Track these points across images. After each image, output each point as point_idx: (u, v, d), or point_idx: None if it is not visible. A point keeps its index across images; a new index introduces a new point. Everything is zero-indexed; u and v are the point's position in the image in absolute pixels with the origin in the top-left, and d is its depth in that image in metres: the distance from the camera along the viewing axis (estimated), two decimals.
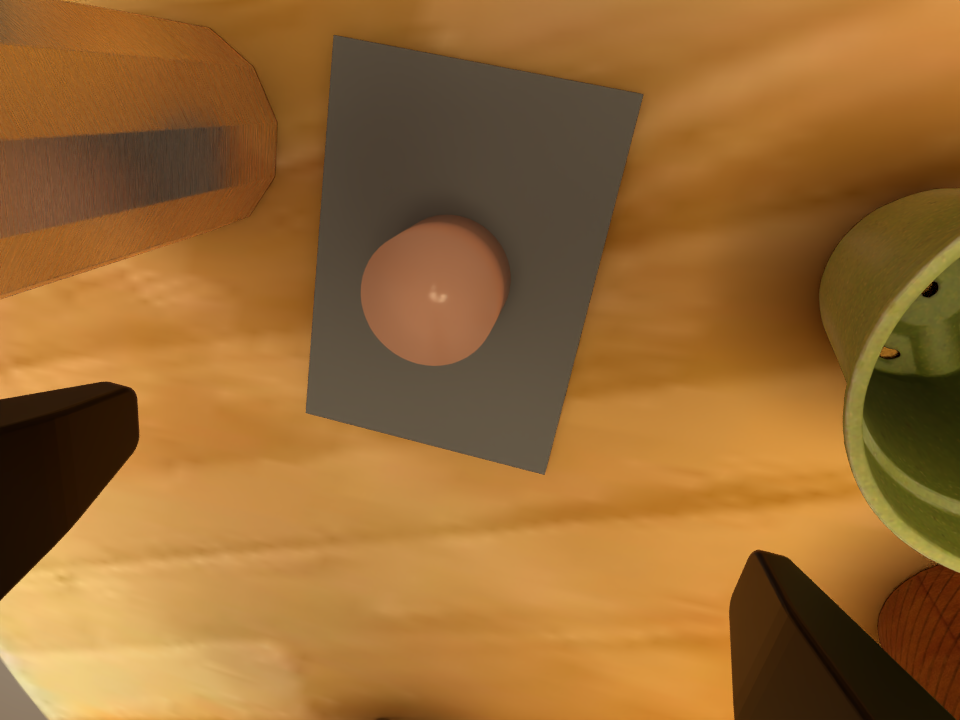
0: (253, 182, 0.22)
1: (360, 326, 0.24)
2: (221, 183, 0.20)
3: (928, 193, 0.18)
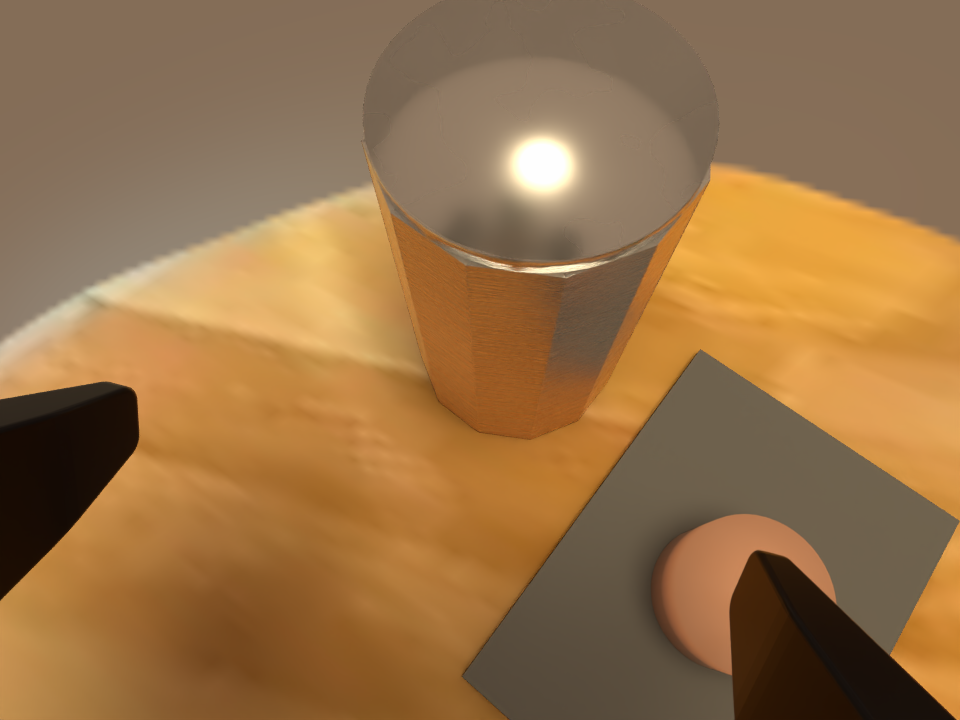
0: (582, 408, 0.22)
1: (593, 601, 0.21)
2: (594, 386, 0.20)
3: None
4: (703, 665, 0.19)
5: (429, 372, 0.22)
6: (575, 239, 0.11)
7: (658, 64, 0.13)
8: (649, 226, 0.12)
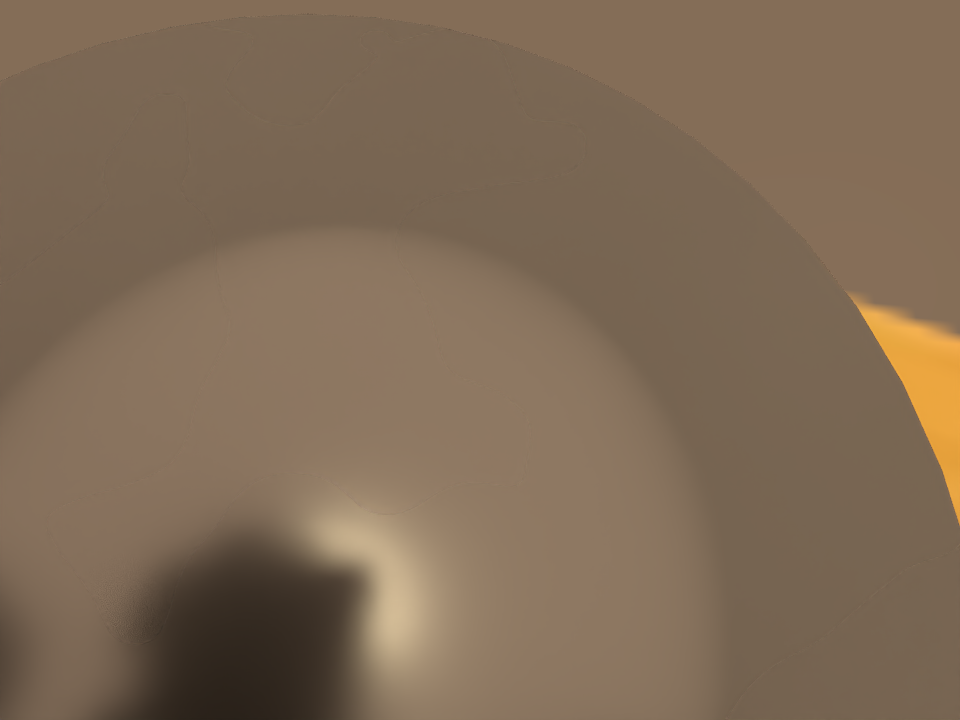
0: None
1: None
2: None
3: None
4: None
5: None
6: None
7: (711, 354, 0.03)
8: None
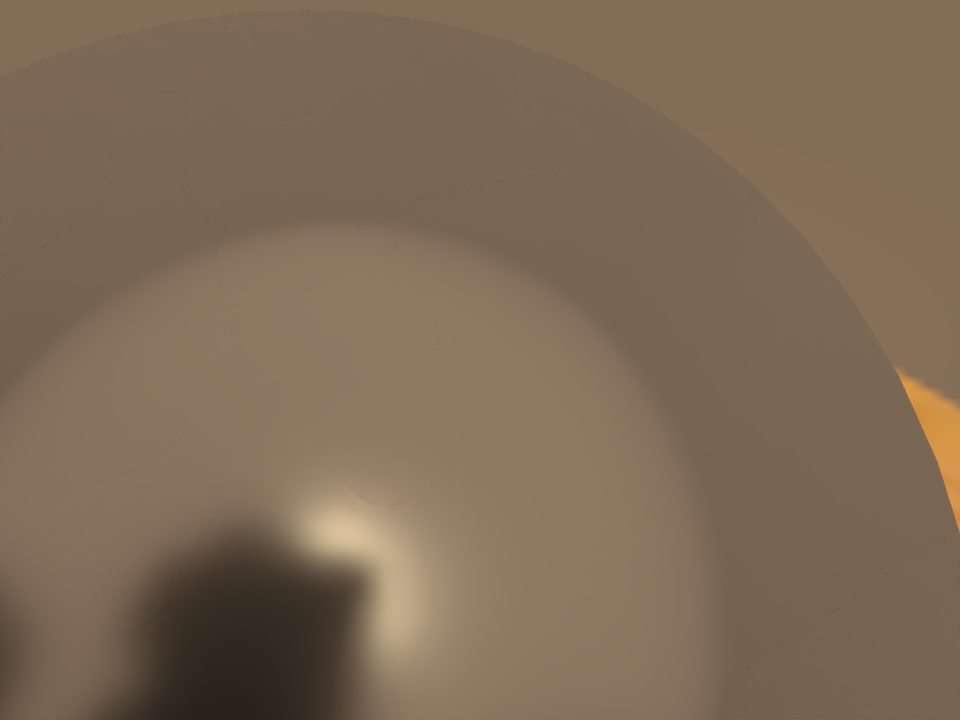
0: None
1: None
2: None
3: None
4: None
5: None
6: None
7: (708, 347, 0.03)
8: None
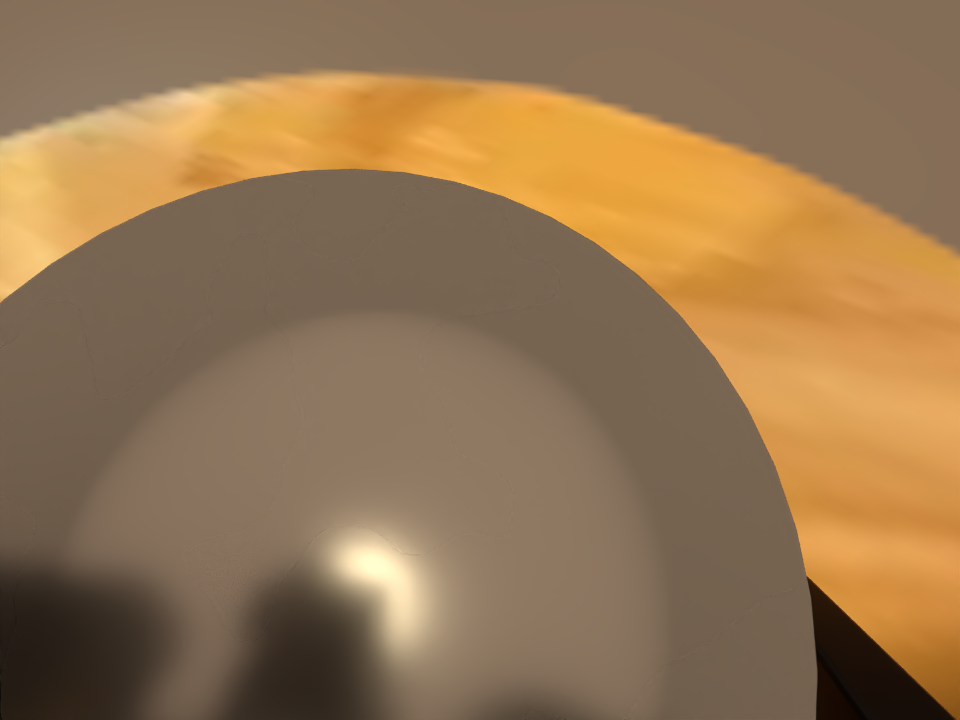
0: None
1: None
2: None
3: None
4: None
5: None
6: None
7: (642, 443, 0.05)
8: None
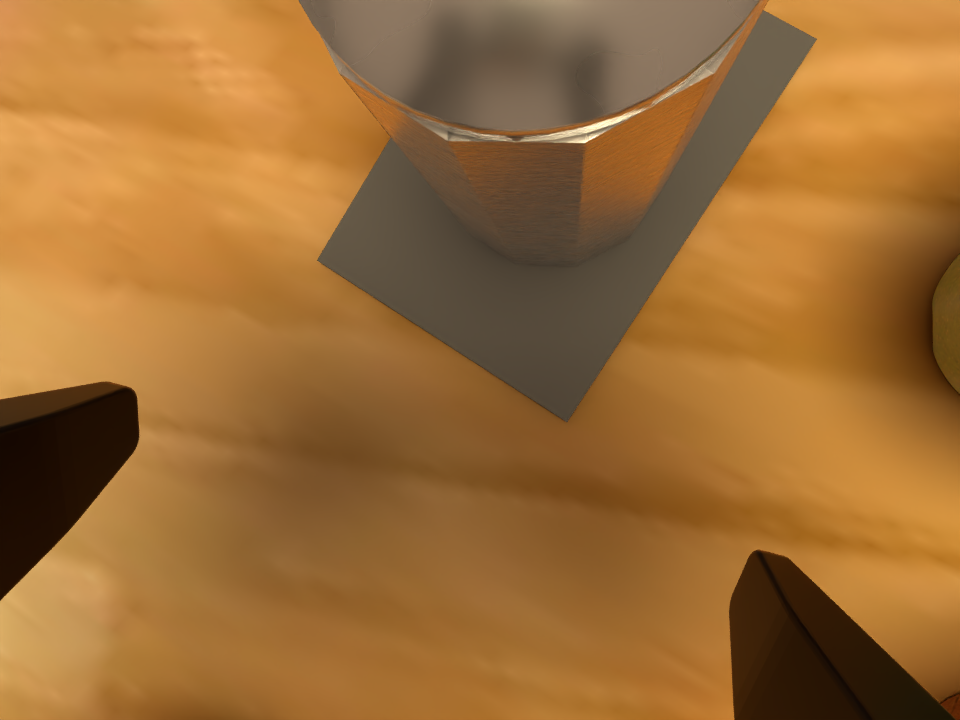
0: (633, 230, 0.19)
1: None
2: (644, 210, 0.17)
3: None
4: None
5: None
6: (593, 88, 0.08)
7: None
8: (701, 52, 0.08)
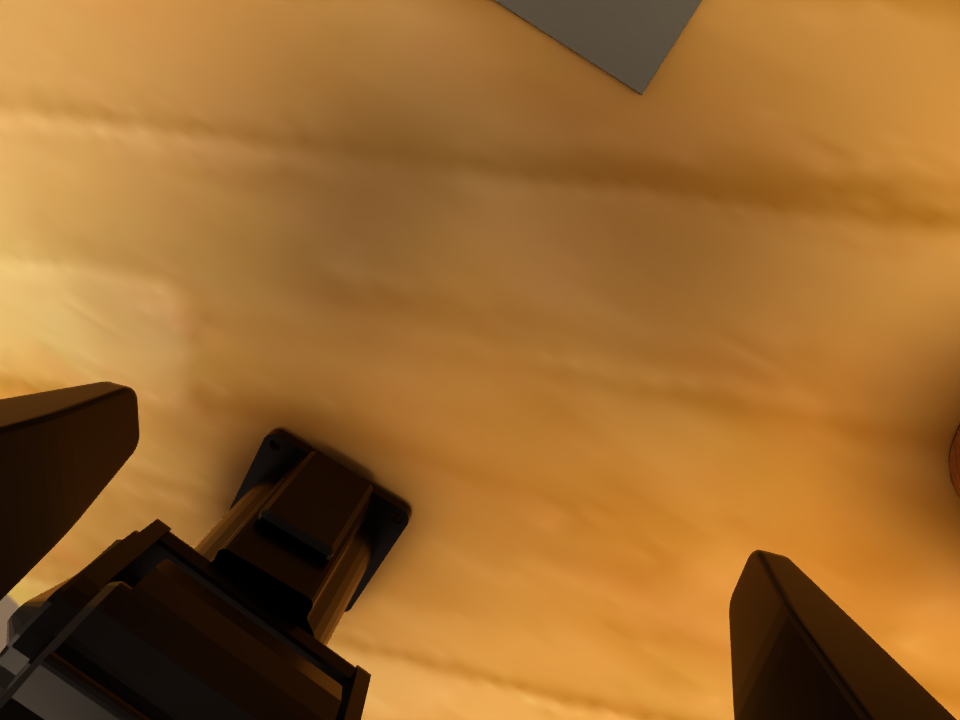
0: None
1: None
2: None
3: None
4: None
5: None
6: None
7: None
8: None
